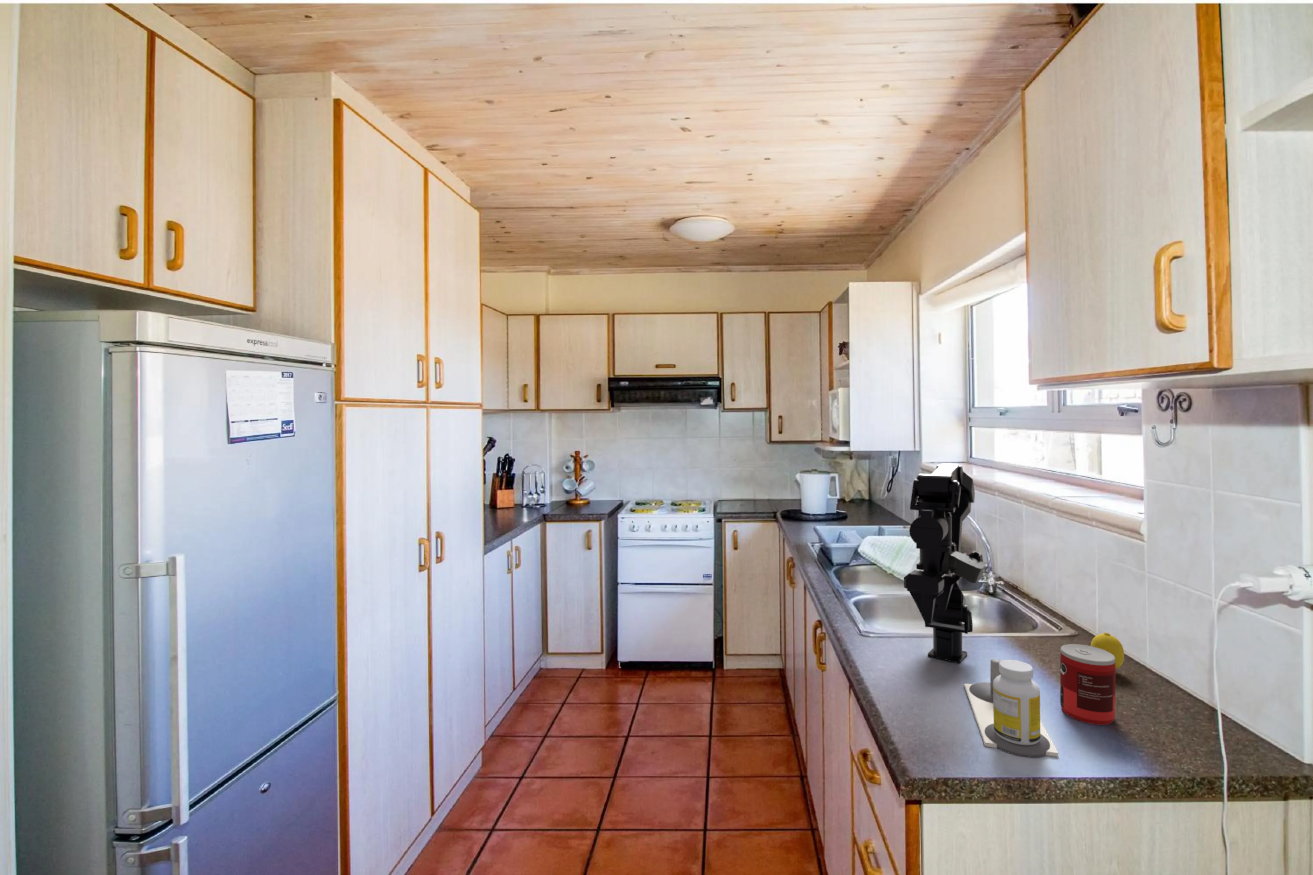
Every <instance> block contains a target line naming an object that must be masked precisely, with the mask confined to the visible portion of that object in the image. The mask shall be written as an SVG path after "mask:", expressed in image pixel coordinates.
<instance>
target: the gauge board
mask: <svg viewBox="0 0 1313 875" xmlns="http://www.w3.org/2000/svg"><path fill="white" fill-rule="evenodd" d="M1000 661H1001V659H996V658H995V659H994V658H993V659H990V666H989V667H990V673H989V674H990V679H989V680H990V681H989V682H985V681H984V682H976V683H972V684H971V683H963V685H964V686H963V688H964V690H965V692H966V695H967V698H968V700H969V703H970V706H971V710H972V712H973V715H974V718H975V722H976V725H977V727H978V730H979V733H980V736H981V738H982V742H983V744H984V747H989V748H995V749H996V748H997V749H998V750H1000V751H1002V752H1005V753H1007V754H1011V755H1014V756H1019V757H1024V758H1040V757H1044V756H1050V757H1057V758H1058V757H1059V751H1058V750H1057V748H1056V746H1055V744H1054V743H1053V741H1052V738H1051V737H1050V735H1049V734H1048V731H1047V730H1046V728H1045V726H1044V724H1043V723H1042V721H1041V720H1040V740H1039V742H1038V743H1036V744H1033V745H1019V744H1014V743H1011V742H1008V741H1006V740H1004V739H1002V738H1001V737H999V736H998V735H997V734H996V732H995V730H994V713H993V681H994V679H995V678H996V677H997V676H999V675H1001V673H1000V672H999V662H1000Z"/></svg>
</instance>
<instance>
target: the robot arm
mask: <svg viewBox="0 0 1313 875" xmlns="http://www.w3.org/2000/svg"><path fill="white" fill-rule="evenodd" d="M974 485H975V484H974V479H973V478H972V477H971V476H969V475H968V474H967V473H966V472H965V471H964V470H963V465H961V464H959V463H940V464H936V468H935V469H934V471H932V473H918V475H917V476H916V478H914V479H913V483H912V491H911V495H910V496H911V498H910V504H909V505H910V506H909V510H911V511H918V513H917V514H918V516H917V517H916V518H915V519H914V520H912V522H911V524H910V526H909V529H908V530H909V536H910V538H911V540H912V541H913V542H914V544H915V546H916V549H918V550H919V562H917V563H916V564H915V568H916V569H913V570H912V571H910V572H909V573H908V574H906V575H905V576H904V577H903V588H905V589H906V591H907V592H908V593H909V594H910V596H911V597H912V599H913V601H914V603H915V604H916V607H917V609H918V611H919V612H920V615H921V617H922V619H923V621H924V627H925V628H931V629H932V649H931V650H929V651H928V653H927V656H928V657H931V658H936V659H941V660H945V661H948V662H952V663H957V664H960V663H962V661H964V659H965V658H966V657H967V655H968V652H967V651H965V650H963V634H966V635H967V634H969V633H973V624H974V623H973V614H972V612H971V610H970V606H969V605H968V604H967V599H966V597H965V595H964V594H963V591H962V590H961V588H960V586H959V585H960V583H959V582H960V580H961V579H962V578H963V579H965V580H966V581H967V582H968V583H971V584H976V583H978V581H980V580H981V577H983V576H982V575H983V573H984V572H985V570H986V566H987V562H985V561H984V559H983V558H984V556H983V553H980V552H978V551H976V550H974V551H972V552H971V553H970V554H967V553H966V552H964V553H962V532H963V522H964V520H966V518H967V517H968V516H969V514H970V513H971V510H972V504H974V503H975V498H976V497H975V494H976V492H975V486H974Z"/></svg>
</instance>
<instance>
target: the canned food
mask: <svg viewBox="0 0 1313 875" xmlns="http://www.w3.org/2000/svg"><path fill="white" fill-rule="evenodd" d="M1059 652H1060V653H1059V654H1060V655H1059V663H1060V664H1059V670H1060V671H1059V673H1060V674H1059V677H1060V678H1059V682H1060V683H1059V686H1060V687H1059V690H1060V691H1059V692H1060V693H1059V694H1060V695H1059V700H1060V701H1059V702H1060V707H1061V711H1063V713H1064V714H1065V715H1067V716H1068V717H1070V718H1072V719H1074V720H1077V721H1079V722H1082V723H1084V724H1085V723H1086V724H1088V725H1096V726H1105V725H1111V724H1113V722H1114V720H1115V717H1116V670H1117V669H1116V666H1115V663H1116V662H1115V657H1114V656H1113V655H1112V654H1111V653H1109V652H1107V651H1105V650H1102V649H1099V648H1096V647H1092V646H1090V645H1086V644H1078V643H1067V644H1064V645H1061V646H1060V651H1059Z"/></svg>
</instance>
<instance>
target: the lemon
mask: <svg viewBox="0 0 1313 875" xmlns="http://www.w3.org/2000/svg"><path fill="white" fill-rule="evenodd" d="M1089 646H1092V647H1096V648H1099V649H1102V650H1105V651H1107V652H1109V653H1111V654H1112V655H1113V656H1114V657H1115V662H1116V663H1115V666H1116V670H1117V669H1119V668H1120V667H1121V666H1122V665H1123V663H1124V660H1125V651H1124V647H1123V644H1122V642H1121V641H1120V640H1119V639H1118V638H1117V637H1115V635H1112V634H1111V633H1109V632H1103V633H1100V634H1097V635H1095V636H1094V637H1093V638H1092V640H1091V643H1090V645H1089Z"/></svg>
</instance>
